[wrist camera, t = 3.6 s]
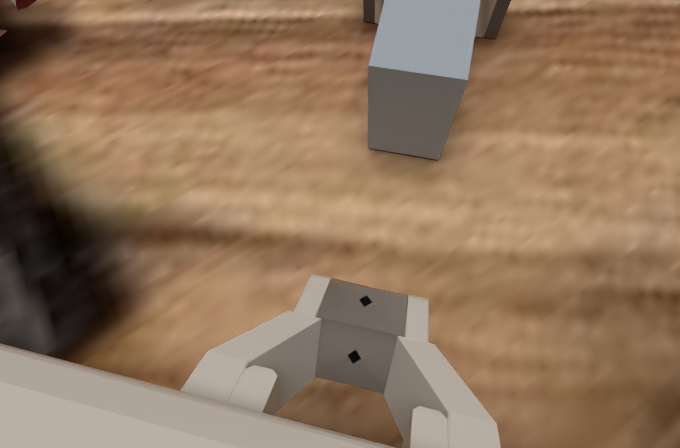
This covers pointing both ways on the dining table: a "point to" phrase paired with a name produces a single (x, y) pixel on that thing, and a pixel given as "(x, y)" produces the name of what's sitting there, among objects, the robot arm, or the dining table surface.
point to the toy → (19, 8)
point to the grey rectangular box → (419, 73)
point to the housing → (487, 22)
